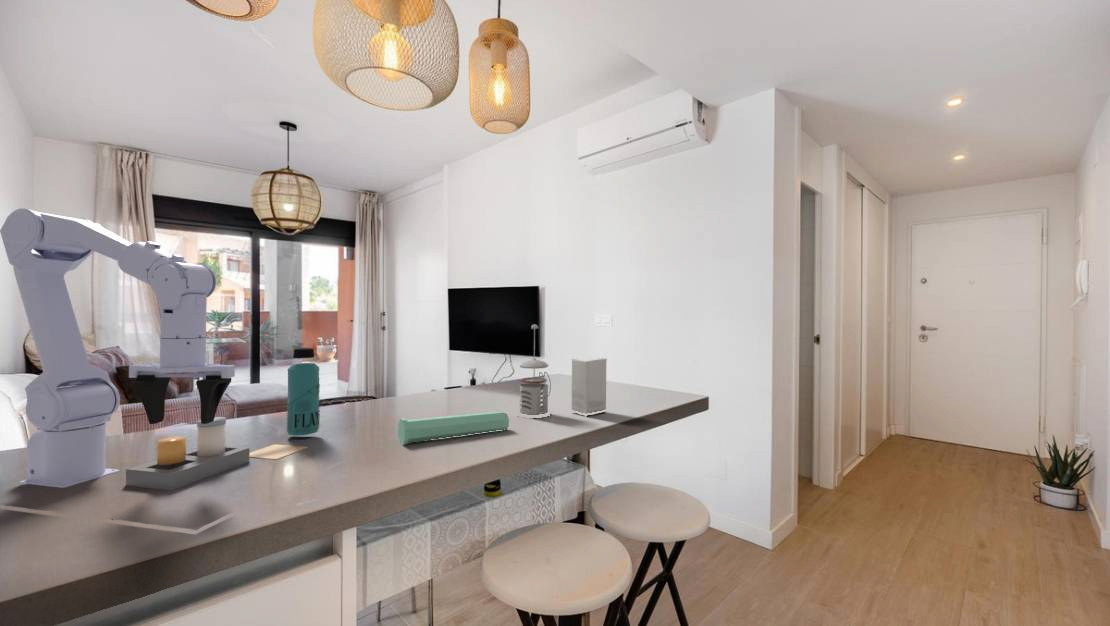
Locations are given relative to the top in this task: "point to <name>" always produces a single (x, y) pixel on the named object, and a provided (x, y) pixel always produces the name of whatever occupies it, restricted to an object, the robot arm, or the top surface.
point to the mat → (275, 451)
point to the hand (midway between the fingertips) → (182, 422)
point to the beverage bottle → (303, 395)
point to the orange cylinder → (171, 450)
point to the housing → (185, 469)
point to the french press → (534, 387)
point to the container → (450, 426)
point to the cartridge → (211, 437)
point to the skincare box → (589, 384)
